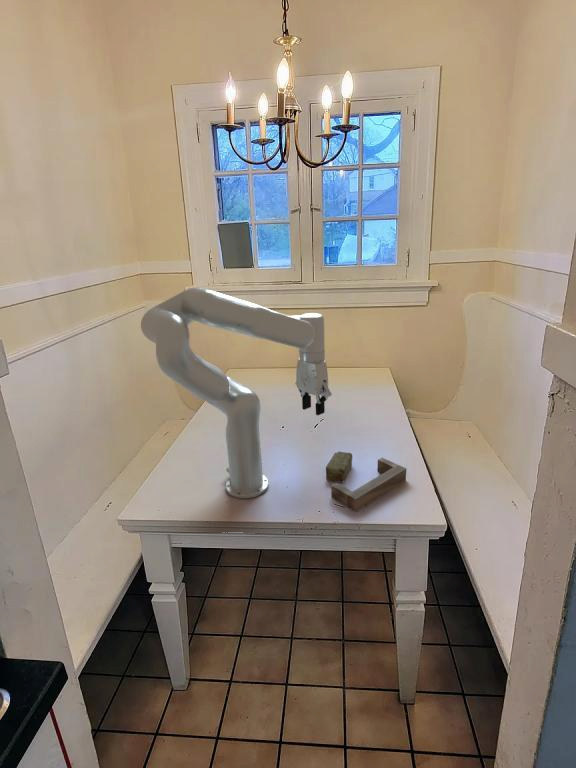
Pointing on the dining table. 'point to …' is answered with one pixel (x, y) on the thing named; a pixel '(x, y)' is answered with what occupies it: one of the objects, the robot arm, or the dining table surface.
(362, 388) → the dining table surface
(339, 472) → the stone block
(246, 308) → the robot arm
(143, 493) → the dining table surface
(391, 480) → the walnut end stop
